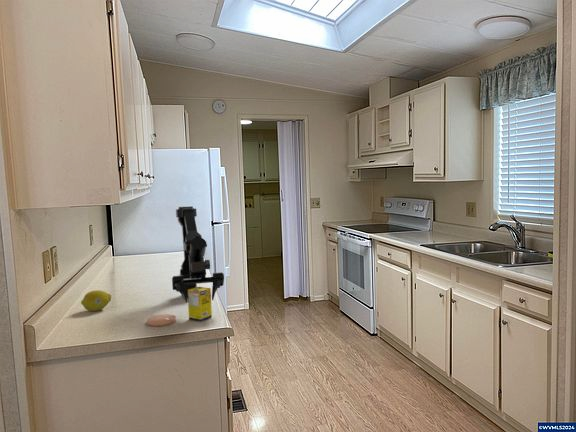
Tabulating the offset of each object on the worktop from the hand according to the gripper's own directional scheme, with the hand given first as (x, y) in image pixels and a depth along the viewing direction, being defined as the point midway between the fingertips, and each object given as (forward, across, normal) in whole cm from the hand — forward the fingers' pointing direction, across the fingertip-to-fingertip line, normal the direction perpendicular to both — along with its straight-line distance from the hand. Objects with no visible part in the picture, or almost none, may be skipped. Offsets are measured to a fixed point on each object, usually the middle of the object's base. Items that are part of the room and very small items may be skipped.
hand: (199, 301), depth 152 cm
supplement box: (+4, 0, +6) cm, 7 cm away
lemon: (-13, -38, +23) cm, 47 cm away
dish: (+4, -14, +6) cm, 15 cm away
